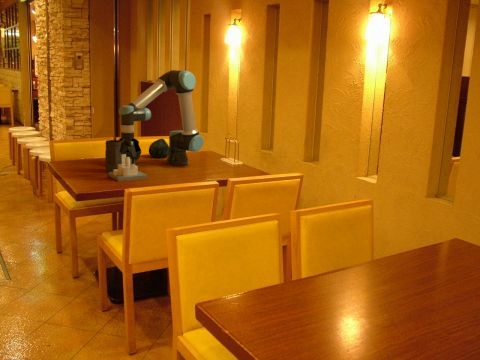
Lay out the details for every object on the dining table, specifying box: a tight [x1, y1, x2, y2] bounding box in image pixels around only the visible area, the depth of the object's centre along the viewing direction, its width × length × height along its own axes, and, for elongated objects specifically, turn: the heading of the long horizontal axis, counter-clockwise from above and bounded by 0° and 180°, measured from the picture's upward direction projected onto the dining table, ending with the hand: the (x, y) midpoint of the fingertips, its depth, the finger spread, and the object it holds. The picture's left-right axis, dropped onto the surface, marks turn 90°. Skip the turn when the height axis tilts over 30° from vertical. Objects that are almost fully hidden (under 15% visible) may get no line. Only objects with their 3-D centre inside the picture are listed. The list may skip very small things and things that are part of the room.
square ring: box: [113, 164, 139, 176], centre depth 299 cm, size 13×9×5 cm
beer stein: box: [104, 139, 122, 174], centre depth 314 cm, size 15×11×20 cm
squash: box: [148, 138, 169, 159], centre depth 365 cm, size 14×15×15 cm
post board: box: [108, 157, 148, 182], centre depth 299 cm, size 18×16×12 cm
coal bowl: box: [118, 137, 142, 163], centre depth 334 cm, size 20×20×19 cm
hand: (128, 166), depth 299 cm, fingers open, 13 cm apart
